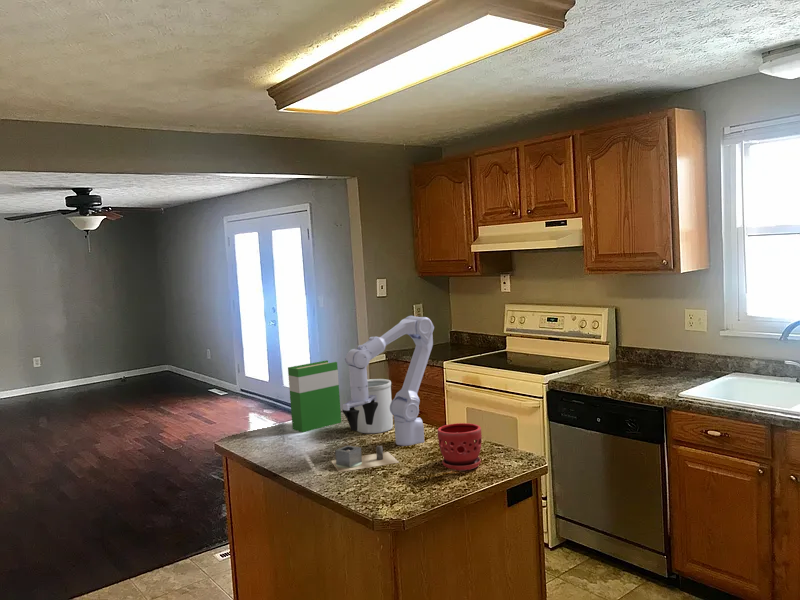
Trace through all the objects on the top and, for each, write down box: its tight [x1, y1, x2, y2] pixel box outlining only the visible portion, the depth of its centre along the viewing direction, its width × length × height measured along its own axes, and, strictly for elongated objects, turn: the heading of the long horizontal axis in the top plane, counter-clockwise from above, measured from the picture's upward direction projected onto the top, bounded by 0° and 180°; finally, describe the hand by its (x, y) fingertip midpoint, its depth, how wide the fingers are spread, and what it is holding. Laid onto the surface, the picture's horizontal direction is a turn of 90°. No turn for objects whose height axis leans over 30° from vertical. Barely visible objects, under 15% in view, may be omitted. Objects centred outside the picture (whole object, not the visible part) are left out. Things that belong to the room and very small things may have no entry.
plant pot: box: [437, 422, 483, 472], centre depth 200 cm, size 13×13×12 cm
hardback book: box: [287, 359, 342, 433], centre depth 257 cm, size 18×7×24 cm, turn 129°
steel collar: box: [334, 445, 363, 467], centre depth 206 cm, size 6×6×4 cm
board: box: [330, 445, 400, 473], centre depth 207 cm, size 19×12×6 cm, turn 108°
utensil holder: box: [354, 378, 394, 434], centre depth 248 cm, size 15×15×18 cm
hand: (361, 427), depth 216 cm, fingers open, 7 cm apart
